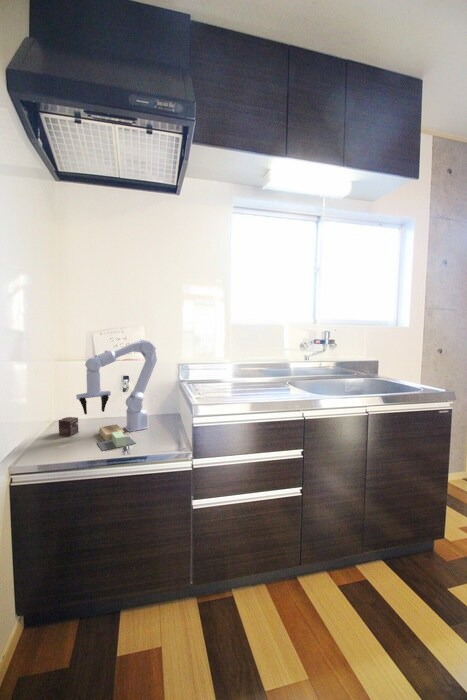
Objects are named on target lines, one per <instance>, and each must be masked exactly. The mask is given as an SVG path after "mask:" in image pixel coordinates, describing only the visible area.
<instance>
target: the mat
mask: <svg viewBox="0 0 467 700" xmlns="http://www.w3.org/2000/svg"><path fill="white" fill-rule="evenodd" d="M96 444H97V446H98V447H99V448H100V450H101V451H102V452H103V451H107V450H108V451H109V450H112V449H118V448H119V447H116V446H115V445H114V444H113V442H112V440H109V441H105V440H104V441H100V442H96ZM136 444H137V442H136V441H135V440H134V439H132V438H131V437H130V436H126V446H125V447H128V446H133V445H136ZM123 447H124V446H121V447H120V448H123Z"/></svg>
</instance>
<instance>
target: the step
mask: <svg viewBox="0 0 467 700" xmlns="http://www.w3.org/2000/svg"><path fill="white" fill-rule="evenodd" d="M98 428H99V432H98V433H99V434H100V437H102V438H103V440H104V441H109V440H112V432H118V431H121V432H122V433H123V434H124V435H125V430H124V429H123V428H121V427H120V426H119V425H118V424H111V425H105V426H99V427H98Z"/></svg>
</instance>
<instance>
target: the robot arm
mask: <svg viewBox="0 0 467 700" xmlns="http://www.w3.org/2000/svg"><path fill="white" fill-rule="evenodd" d="M156 349H157V348H156V346H155V344H154V343H153V342H152V341H150V340H147V339H140V340H138V341H134V342H132V343H130V344H127V345H125V346H123V347H121V348H119V349H116V350H114V351H113V350H108V349H106V350H104V351H103V353H101V354H98V355H97V354H94V357H89V358H88V359H87V360H85V363H84V365H85V367H86V392H85V393H80V394H79V393H78V394H76V395H75V397H76V400H78V401H79V402H80V404H81V407H82V409H83V415H87V414H88V410H87V404H88V403H87V401H88V400H87V399H90V398H99V397H100V400H101V412H102V413H103V412H105V409H106V405H107V402H108V401H109V398H110V397H109V396H112V395H111V391H110V390H104V391H101V373H100V369H101V368H104V367H106V366H108V365H110V364H113V363H115V362H116V360H117V359H118V358H120V357H122V356H125V355H128V354H129V353H133V352H134V353H141V354H142V357H143V358H144V360H145V361H144V363H143V366H142V369H141V371H140V374H139V375H138V378H137V381H136V383H135V386H134V388H133V390H132V391H131V393H130V395H129V396H127V398H126V400H125V405H126V407H127V408H126V425H125V426H124V427H123V428H124V429H125V430H126V431H128V432H129V433H130V432H131V433H132V432H136V431H141V430H146V429H148V413H147V412H148V411H147V410H146V409H142V408H143V401H144V395H145V391H146V389H147V387H148V384H149V381H150V379H151V376H152V373H153V372H154V368H155V366H156V364H157V362H158V361H157V360H158V359H157V358H158V357H157V352H156Z"/></svg>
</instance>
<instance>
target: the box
mask: <svg viewBox="0 0 467 700" xmlns="http://www.w3.org/2000/svg"><path fill="white" fill-rule="evenodd" d="M78 433H79V417H74V416H73V417H71V416H66V417H63V418H62V419H61V418H60V419H59V420H58V435H59V436H61V437H72V436H75V435H76V434H78Z"/></svg>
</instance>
